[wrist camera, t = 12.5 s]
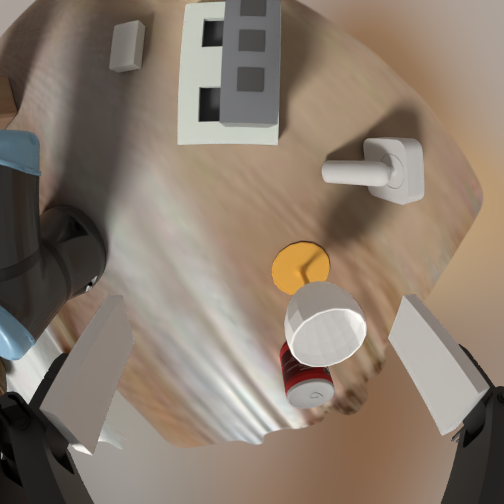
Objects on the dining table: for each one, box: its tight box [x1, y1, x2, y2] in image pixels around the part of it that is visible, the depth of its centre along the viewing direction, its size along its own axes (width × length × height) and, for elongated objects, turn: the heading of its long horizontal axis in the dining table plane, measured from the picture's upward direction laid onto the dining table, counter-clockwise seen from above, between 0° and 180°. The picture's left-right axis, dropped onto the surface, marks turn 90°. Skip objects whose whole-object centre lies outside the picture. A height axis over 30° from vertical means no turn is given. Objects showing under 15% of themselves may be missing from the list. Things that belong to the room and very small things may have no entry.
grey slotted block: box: [219, 0, 280, 128], centre depth 23 cm, size 5×16×12 cm, turn 178°
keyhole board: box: [178, 2, 281, 145], centre depth 28 cm, size 12×20×3 cm, turn 178°
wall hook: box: [322, 137, 424, 205], centre depth 31 cm, size 8×10×10 cm
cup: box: [271, 242, 366, 367], centre depth 34 cm, size 9×9×16 cm
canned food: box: [280, 342, 335, 409], centre depth 43 cm, size 8×8×11 cm
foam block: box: [109, 20, 146, 73], centre depth 25 cm, size 4×7×3 cm, turn 178°
